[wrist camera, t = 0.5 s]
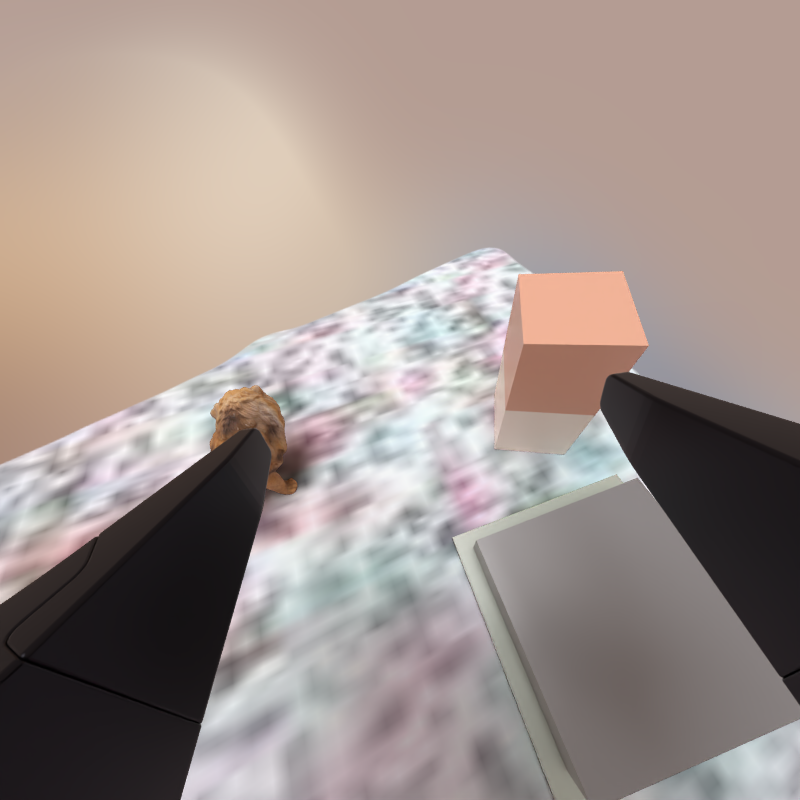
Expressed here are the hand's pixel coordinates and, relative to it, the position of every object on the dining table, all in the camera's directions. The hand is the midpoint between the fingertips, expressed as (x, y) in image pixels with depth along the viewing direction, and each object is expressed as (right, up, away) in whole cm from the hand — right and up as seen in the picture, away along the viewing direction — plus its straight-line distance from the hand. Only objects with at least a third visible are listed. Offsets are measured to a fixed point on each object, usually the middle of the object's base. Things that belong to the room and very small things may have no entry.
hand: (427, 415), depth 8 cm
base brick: (+10, -12, +10) cm, 19 cm away
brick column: (+10, -1, +17) cm, 19 cm away
